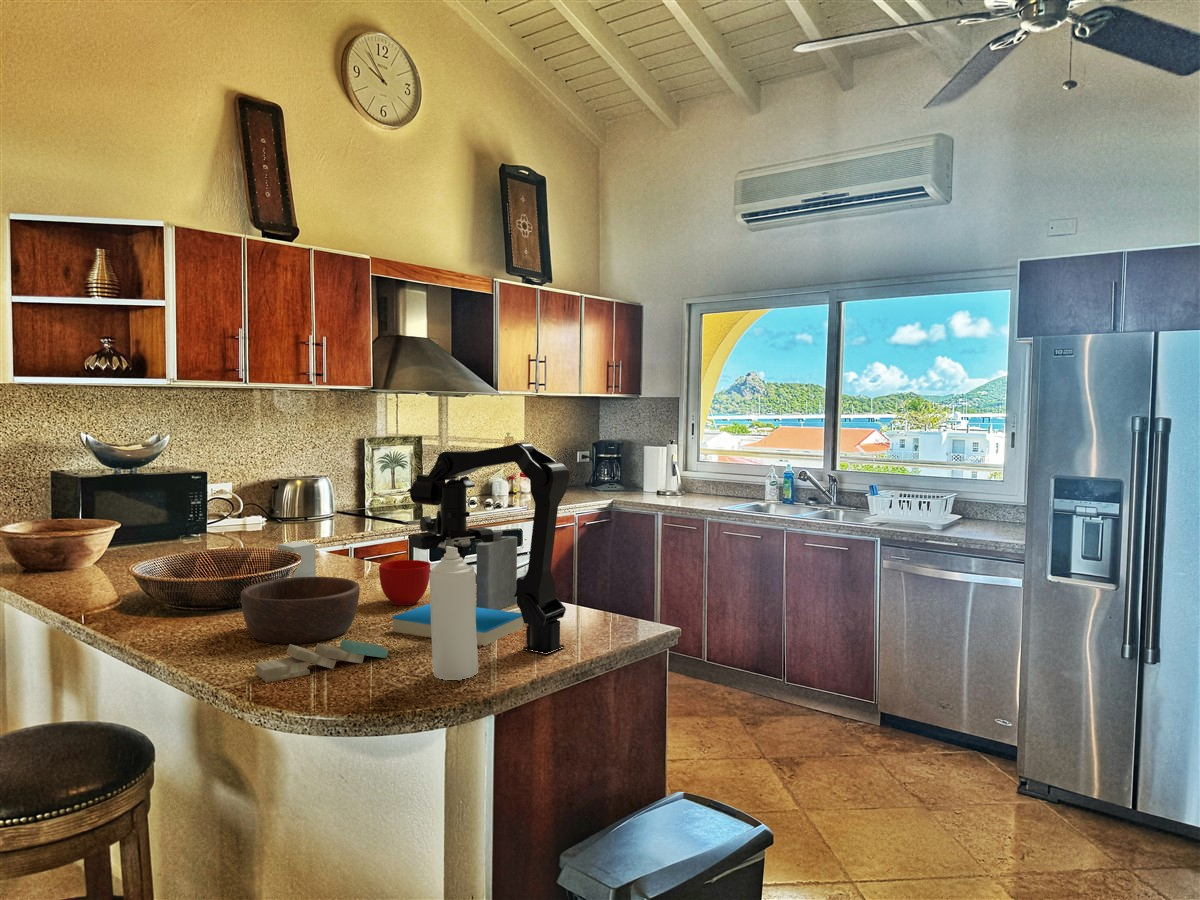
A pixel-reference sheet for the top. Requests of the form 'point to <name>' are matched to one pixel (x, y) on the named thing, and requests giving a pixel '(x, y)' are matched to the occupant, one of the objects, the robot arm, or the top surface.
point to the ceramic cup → (404, 580)
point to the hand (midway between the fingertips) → (453, 576)
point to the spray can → (453, 617)
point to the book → (487, 623)
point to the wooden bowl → (300, 609)
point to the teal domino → (364, 648)
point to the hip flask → (496, 572)
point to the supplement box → (302, 557)
